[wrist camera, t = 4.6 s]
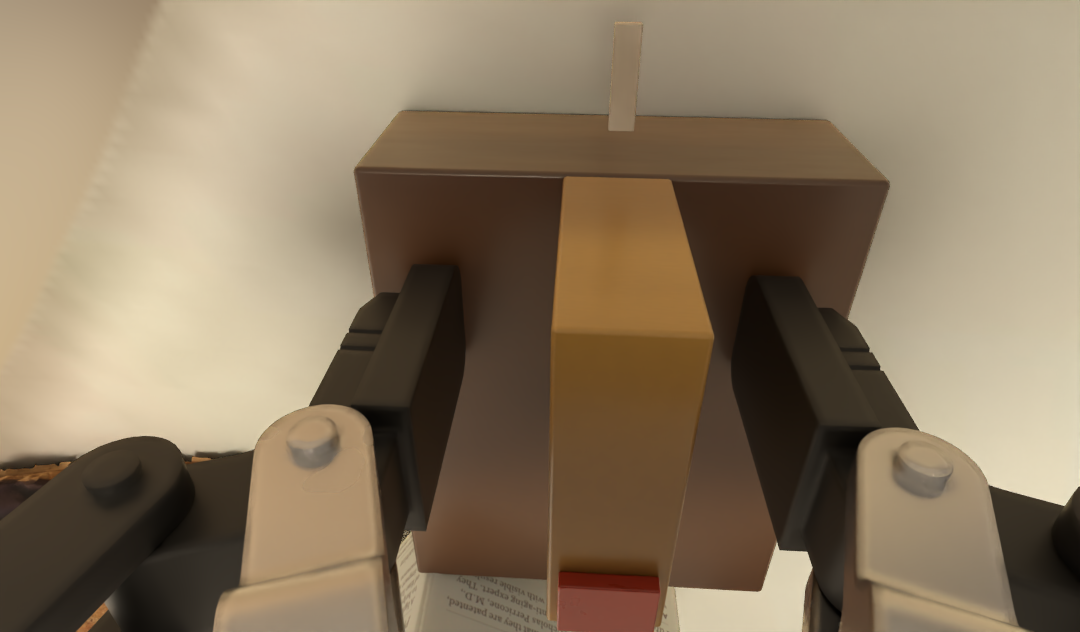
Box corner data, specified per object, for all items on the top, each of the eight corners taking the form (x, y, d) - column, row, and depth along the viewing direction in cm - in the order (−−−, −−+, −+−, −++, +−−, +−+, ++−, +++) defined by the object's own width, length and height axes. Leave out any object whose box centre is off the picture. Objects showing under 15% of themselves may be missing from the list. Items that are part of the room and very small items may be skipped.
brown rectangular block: (384, -15, 11) (323, 19, 9) (862, -9, 11) (949, 28, 8) (440, 477, 18) (415, 580, 15) (737, 491, 18) (763, 600, 15)
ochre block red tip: (562, 174, 10) (549, 343, 6) (672, 177, 10) (721, 351, 6) (556, 424, 13) (545, 639, 9) (641, 428, 12) (663, 645, 9)
